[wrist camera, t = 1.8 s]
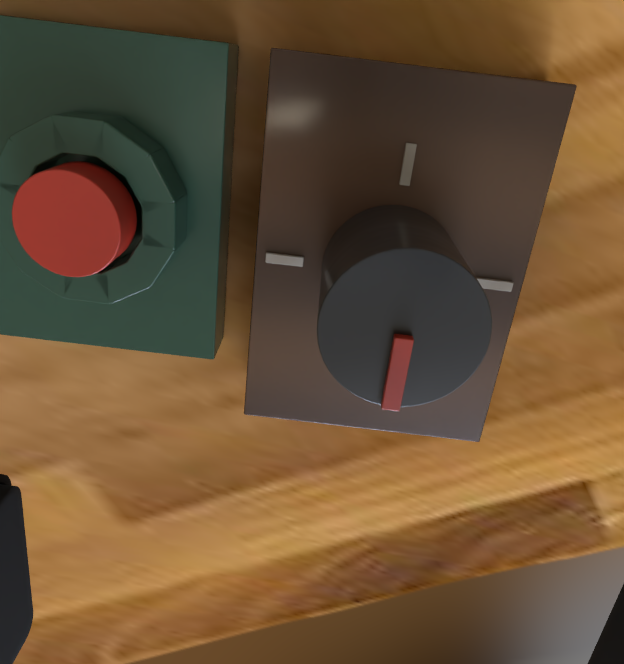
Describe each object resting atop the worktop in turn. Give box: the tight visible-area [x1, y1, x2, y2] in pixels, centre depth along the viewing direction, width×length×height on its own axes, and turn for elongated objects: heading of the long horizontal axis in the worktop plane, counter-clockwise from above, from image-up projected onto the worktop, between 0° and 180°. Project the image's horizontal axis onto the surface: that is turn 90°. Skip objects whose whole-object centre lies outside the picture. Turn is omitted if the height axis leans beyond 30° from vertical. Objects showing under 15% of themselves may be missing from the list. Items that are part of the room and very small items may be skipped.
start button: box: [12, 161, 137, 277], centre depth 20 cm, size 4×4×2 cm
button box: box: [0, 15, 239, 359], centre depth 22 cm, size 12×9×4 cm
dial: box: [317, 205, 492, 411], centre depth 19 cm, size 5×5×6 cm
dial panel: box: [244, 48, 576, 442], centre depth 23 cm, size 14×10×3 cm
